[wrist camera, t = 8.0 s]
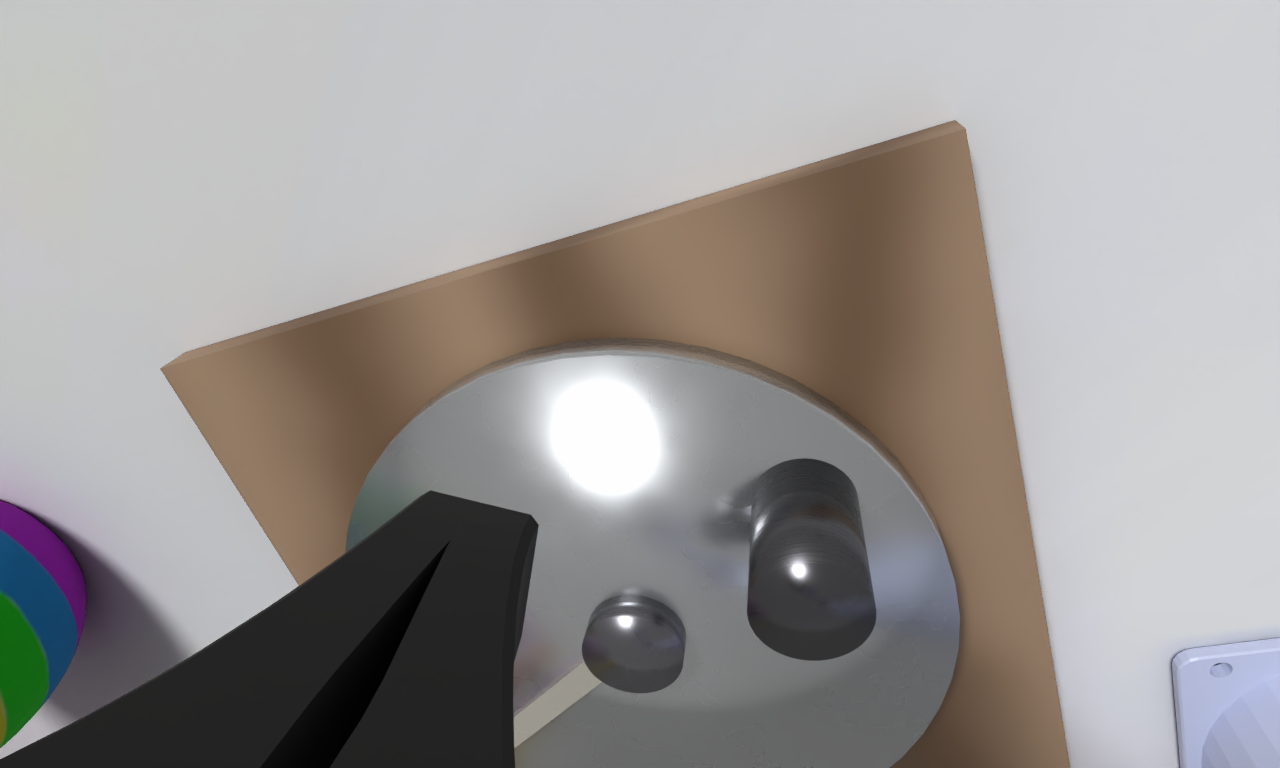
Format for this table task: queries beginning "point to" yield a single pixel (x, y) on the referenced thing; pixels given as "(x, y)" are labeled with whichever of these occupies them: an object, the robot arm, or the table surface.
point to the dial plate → (721, 320)
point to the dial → (692, 558)
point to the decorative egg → (34, 616)
